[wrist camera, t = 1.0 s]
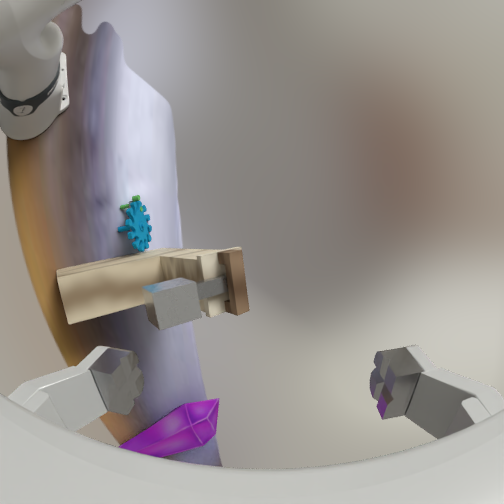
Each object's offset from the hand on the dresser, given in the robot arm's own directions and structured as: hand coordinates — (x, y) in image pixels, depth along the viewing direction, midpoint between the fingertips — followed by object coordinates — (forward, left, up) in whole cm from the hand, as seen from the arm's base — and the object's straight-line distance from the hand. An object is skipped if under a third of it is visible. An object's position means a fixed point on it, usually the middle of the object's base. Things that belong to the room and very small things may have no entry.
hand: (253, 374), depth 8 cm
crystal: (+44, +8, -50) cm, 67 cm away
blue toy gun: (-6, +13, -50) cm, 52 cm away
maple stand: (+3, +7, -50) cm, 50 cm away
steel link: (+3, +11, -23) cm, 25 cm away
